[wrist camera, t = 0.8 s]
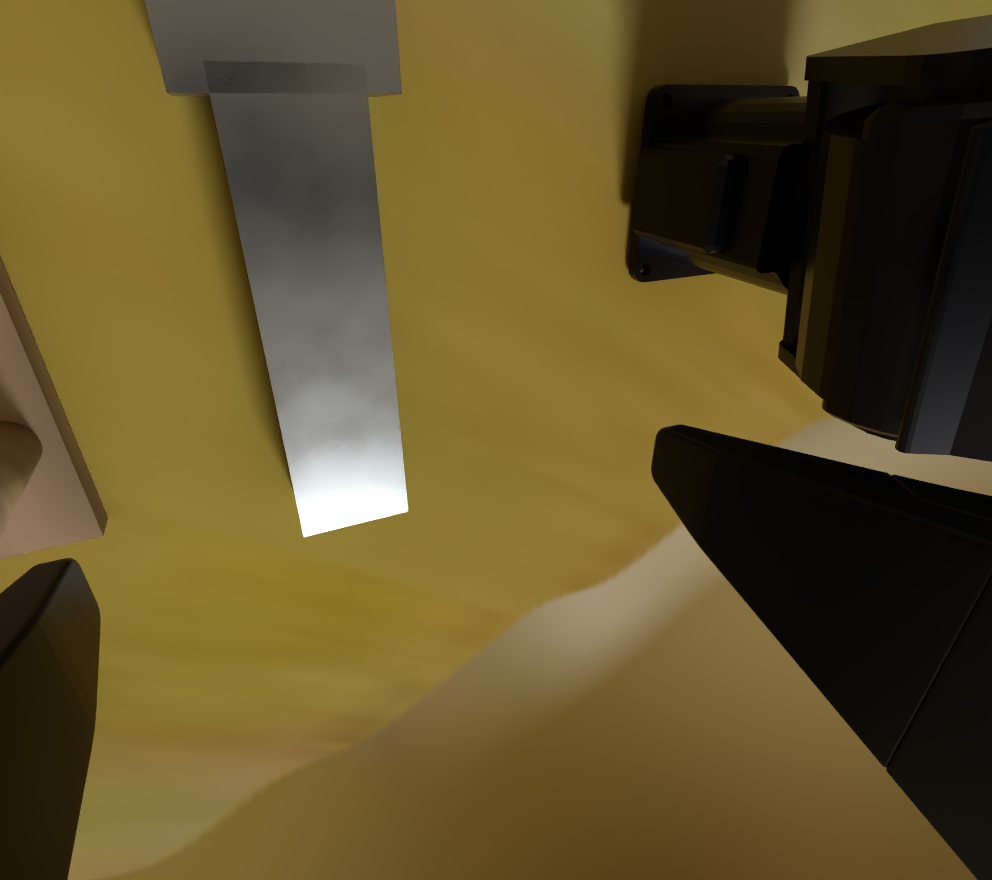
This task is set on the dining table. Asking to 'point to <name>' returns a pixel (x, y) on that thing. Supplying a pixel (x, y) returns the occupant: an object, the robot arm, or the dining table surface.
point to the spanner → (307, 224)
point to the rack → (37, 449)
